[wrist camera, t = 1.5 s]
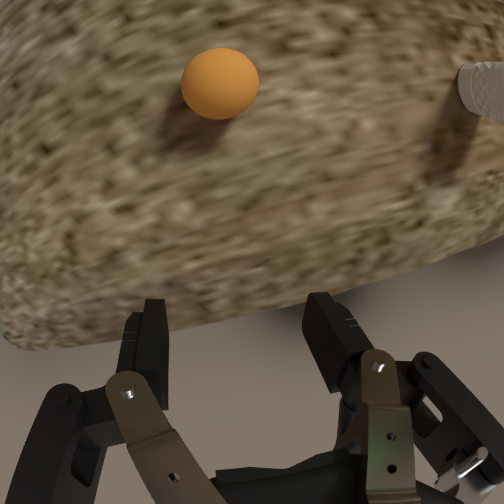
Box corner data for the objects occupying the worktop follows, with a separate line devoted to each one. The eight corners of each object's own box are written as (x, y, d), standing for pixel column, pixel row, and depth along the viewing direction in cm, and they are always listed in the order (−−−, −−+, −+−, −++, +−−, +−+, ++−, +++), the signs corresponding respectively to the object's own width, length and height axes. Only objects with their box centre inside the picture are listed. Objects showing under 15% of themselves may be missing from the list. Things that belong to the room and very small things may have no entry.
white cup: (460, 123, 25) (526, 142, 17) (447, 59, 22) (516, 64, 13) (491, 113, 25) (549, 130, 17) (481, 57, 21) (541, 64, 13)
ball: (175, 112, 21) (170, 113, 16) (192, 49, 19) (191, 33, 14) (241, 124, 23) (254, 129, 18) (258, 63, 20) (275, 52, 16)
